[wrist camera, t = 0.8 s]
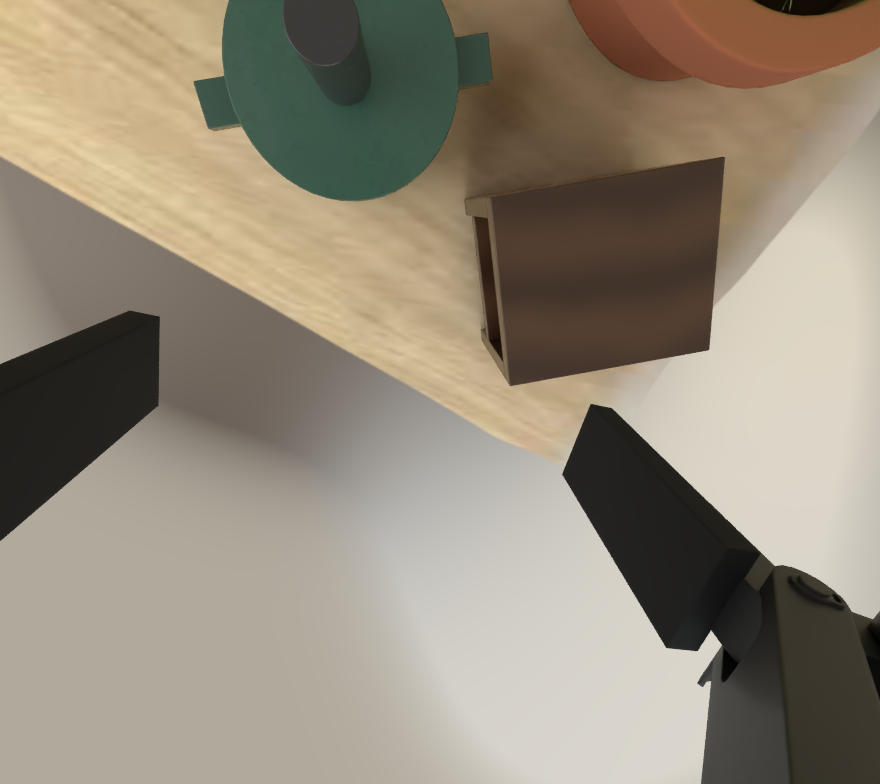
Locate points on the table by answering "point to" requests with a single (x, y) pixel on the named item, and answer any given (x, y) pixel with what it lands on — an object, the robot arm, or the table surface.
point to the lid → (342, 89)
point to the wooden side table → (599, 269)
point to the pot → (471, 74)
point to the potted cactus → (730, 37)
